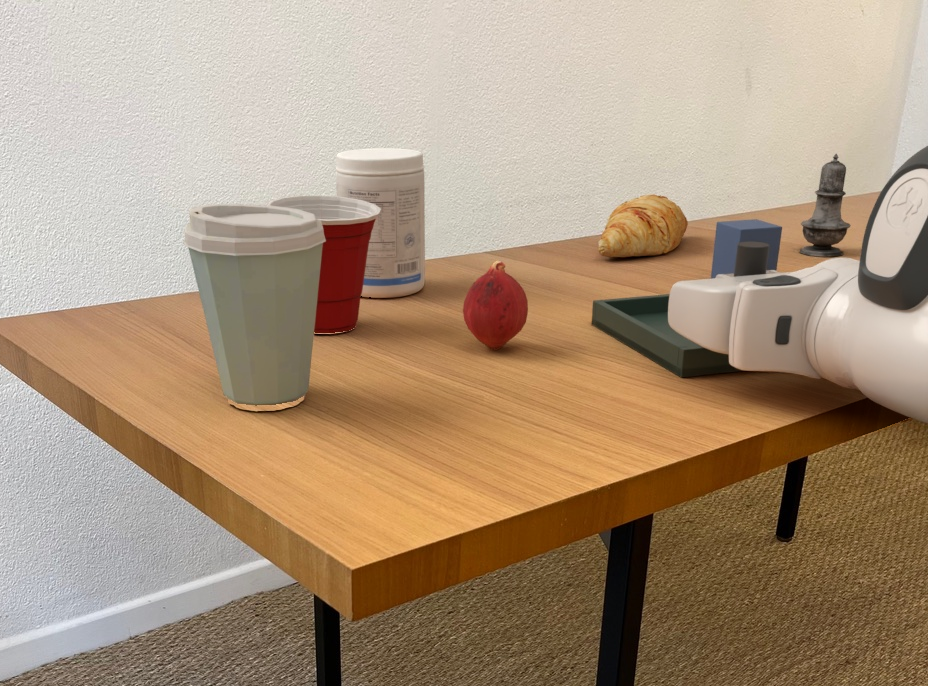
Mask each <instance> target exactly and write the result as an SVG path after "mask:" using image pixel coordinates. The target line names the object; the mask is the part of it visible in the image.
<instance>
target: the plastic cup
mask: <svg viewBox="0 0 928 686" xmlns="http://www.w3.org/2000/svg"><path fill="white" fill-rule="evenodd" d="M266 205H270V206H278V207H286V208H294V209H299V210H302V211H306V212H309V213H312V214H314V215H315V217H316V219H319V220H320V221H321V222H322V226H323V230H324V236H325V240H326V241H325V242H323V246H322V257H321V267H320V277H319V287H318V297H317V307H316V317H315V327H314V332H315V333H335V332H343V331H349V330H351V329H353V328H355V329H356V327H357V323H358V320H359V314H360V313H359V312H360V305H361V298H362V297H361V294H362V289H363V282H364V275H365V268H366V260H367V253H368V246H369V241H370V238H371V232H372V229H373V226H374V222H375V220H376V218H378V216H379V214H380V211H381V209H380V208H379V207H378V206H376V205H375V204H372V203H369V202H366V201H362V200H358V199H351V198H345V197H337V196H336V195H334V196H332V195H295V196H285V197H280V198H276V199H273V200H270V201H268V202H267V203H266ZM355 326H356V327H355Z"/></svg>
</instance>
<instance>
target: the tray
mask: <svg viewBox="0 0 928 686" xmlns="http://www.w3.org/2000/svg"><path fill="white" fill-rule="evenodd" d="M768 253H769V244H767V243H763V242H751V241H749V242H740V243H738V245H737V254H736V263H735V271H734V274H735V275H739V276H749V275H761V274H766V269H767V261H768ZM669 296H670V293H666V294H653V295H641V296H630V297H619V298H618V297H617V298H607V299H595V300H592V309H591V310H592V311H591V325H592V326H594V327H595V328H597V329H598V330H600V331H602V332H603V333H604V334H605V333H606V334H607V335H609V336H610V337H612V338H614V339H616V340H617V341H619V342H621V343H622V344H623V345H626V346H627V347H629V348H631V349H632V350H634V351H636V352H637V353H639V354H640V355H642V356H644V357H646V358H648V359H649V360H651V361H653V362H655V363H656V364H657V365H659V366H660V367H662V368H665V369H666V370H668V371H669V372H671V373H673V374H675V375H676V376H678V377H679V378H689V377H697V376H706V375H715V374H717V375H718V374H726V373H727V374H728V373H734V372H735V373H737V372H745V370H740V369H737V368H735V367H733V366H732V365H730V364H729V354H723V353H718V352H714V351H711V350H709V349H706V348H704V347H702V346H700V345H698V344H696V343H694V342H692V341H691V340H689V339H687V338H685V337H684V336H682V335H680V334H679V333H677V332H676V331H674V330H673V329H672V328H671V327H670V325H669V323H668V303H669Z"/></svg>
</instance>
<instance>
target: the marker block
mask: <svg viewBox="0 0 928 686" xmlns="http://www.w3.org/2000/svg"><path fill="white" fill-rule="evenodd" d="M715 225H716V226H715V234H714V235H715V236H714V242H713V243H714V244H713V254H712V264H711V273H710V279H712V278H716V276H717V275H718V274H732V273H733V274H734V271H735V263H736V254H737V245H738V243H740V242H749V241H751V242H763V243H767V244H769V253H768V261H767V269H766V270H776V271H778V270H777V269H778V262H779V255H780V247H781V239H782V232H783V226H781V225H779V224H774V223H772V222H771V223H770V222H767V221H764V220H761V219H757V218H754V219H753V218H752V219H741V220H740V219H739V220H724V221H723V220H722V221H716V224H715Z"/></svg>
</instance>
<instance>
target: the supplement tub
mask: <svg viewBox="0 0 928 686" xmlns="http://www.w3.org/2000/svg"><path fill="white" fill-rule="evenodd" d="M424 169H425V165H424V154H423V152H422V151H420V150H417V149H411V148H400V147H373V148H356V149H348V150H343V151H340V152H338V153H337V154H336V166H335V182H336V184H335V185H336V197H345V198H351V199H358V200H362V201H366V202H369V203H372V204H375V205H376V206H378V207H379V208H380V209H381V211H380V214H379V216H378V218H376V220H375V222H374V226H373V229H372V232H371V238H370V241H369V246H368V253H367V260H366V268H365V275H364V282H363V289H362V294H361V296H362V297H361V298H369V297H371V299H392V298H401V297H406V296H410V295H413V294H416V293H418V292H420V291H421V290H422V289H423V288H424V286H425V283H426V282H425V281H426V229H425V228H426V223H425V221H426V220H425V219H426V218H425V217H426V214H425V211H426V210H425V207H426V206H425V205H426V203H425V199H426V198H425V196H426V195H425V170H424Z"/></svg>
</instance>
